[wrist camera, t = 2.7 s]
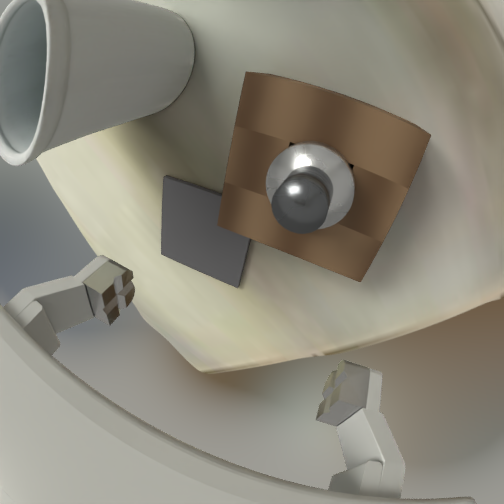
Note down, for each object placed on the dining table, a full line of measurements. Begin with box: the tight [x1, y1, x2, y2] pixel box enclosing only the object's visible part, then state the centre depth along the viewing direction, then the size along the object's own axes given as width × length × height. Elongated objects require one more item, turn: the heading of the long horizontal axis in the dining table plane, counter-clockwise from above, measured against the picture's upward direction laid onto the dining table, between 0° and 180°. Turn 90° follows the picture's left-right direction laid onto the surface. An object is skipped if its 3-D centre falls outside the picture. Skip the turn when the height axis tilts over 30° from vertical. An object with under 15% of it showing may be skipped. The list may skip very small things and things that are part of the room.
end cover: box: [266, 141, 355, 234], centre depth 21 cm, size 6×6×9 cm
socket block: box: [217, 72, 431, 282], centre depth 23 cm, size 14×14×6 cm
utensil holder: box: [0, 0, 195, 166], centre depth 18 cm, size 15×15×18 cm
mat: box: [161, 175, 251, 288], centre depth 35 cm, size 12×12×1 cm
